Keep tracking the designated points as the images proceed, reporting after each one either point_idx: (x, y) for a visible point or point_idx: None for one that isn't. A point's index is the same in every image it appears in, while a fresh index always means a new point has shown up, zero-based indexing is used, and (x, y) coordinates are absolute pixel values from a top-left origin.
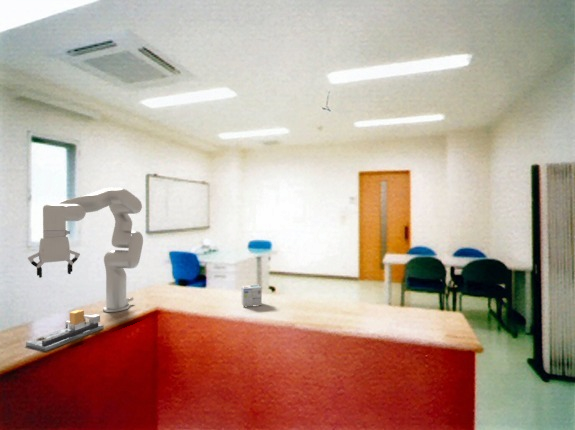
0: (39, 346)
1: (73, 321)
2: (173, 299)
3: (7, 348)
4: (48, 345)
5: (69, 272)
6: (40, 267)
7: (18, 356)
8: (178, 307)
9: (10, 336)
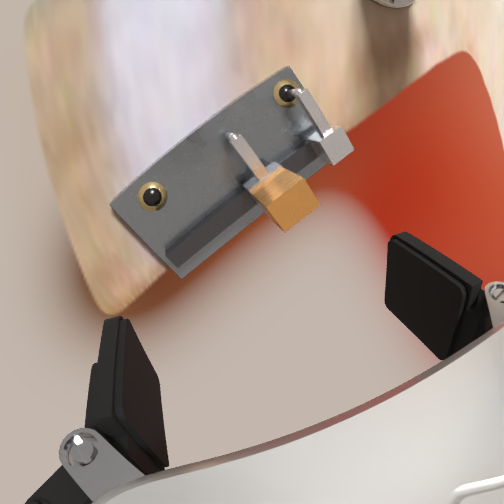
0: (159, 255)
1: (267, 213)
2: (496, 27)
3: (63, 199)
4: (185, 267)
5: (398, 315)
6: (148, 466)
7: (115, 278)
8: (496, 102)
9: (44, 79)
